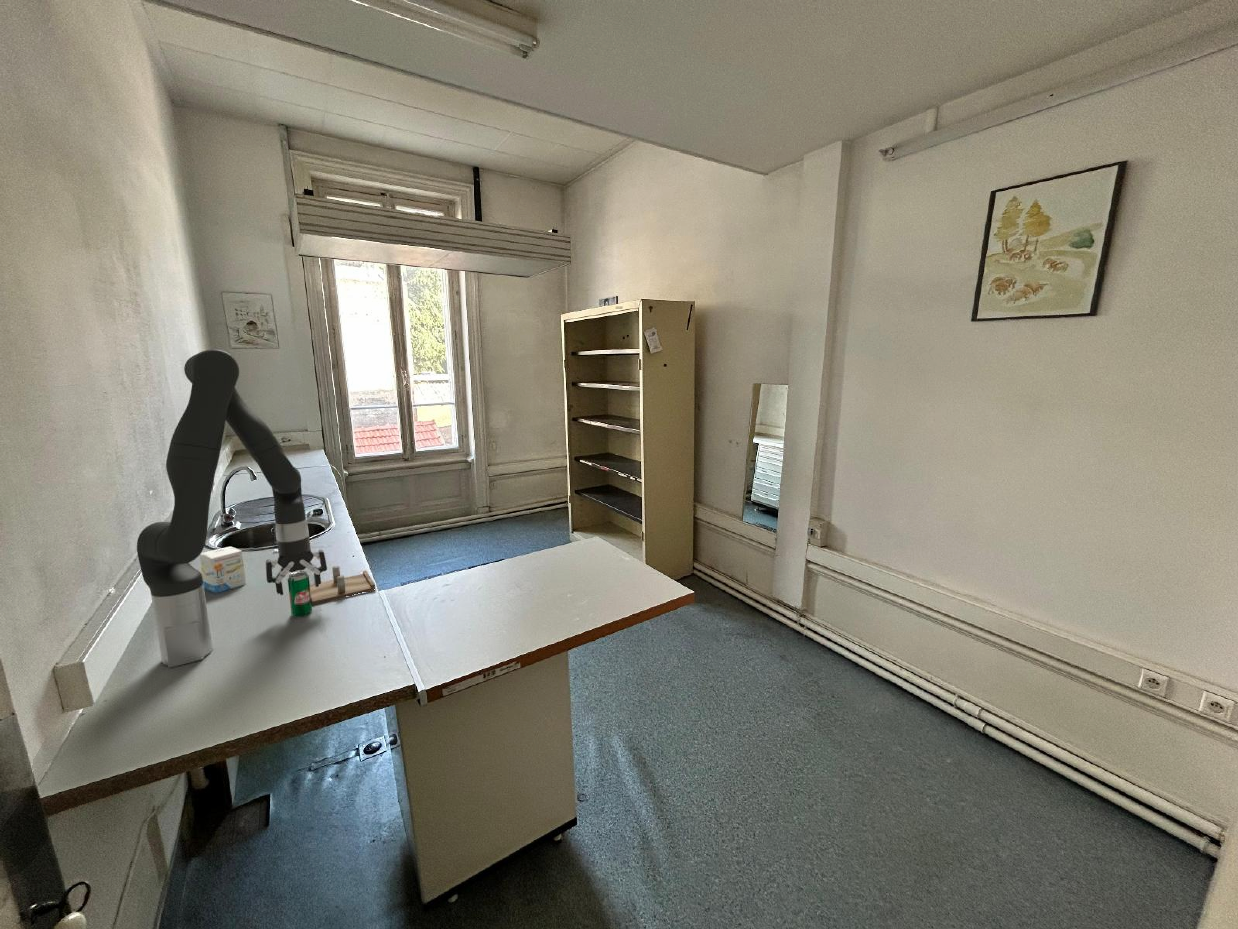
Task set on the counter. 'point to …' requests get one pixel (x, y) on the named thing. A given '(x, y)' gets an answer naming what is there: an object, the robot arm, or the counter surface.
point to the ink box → (222, 569)
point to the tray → (350, 588)
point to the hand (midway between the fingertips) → (299, 590)
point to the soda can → (299, 593)
